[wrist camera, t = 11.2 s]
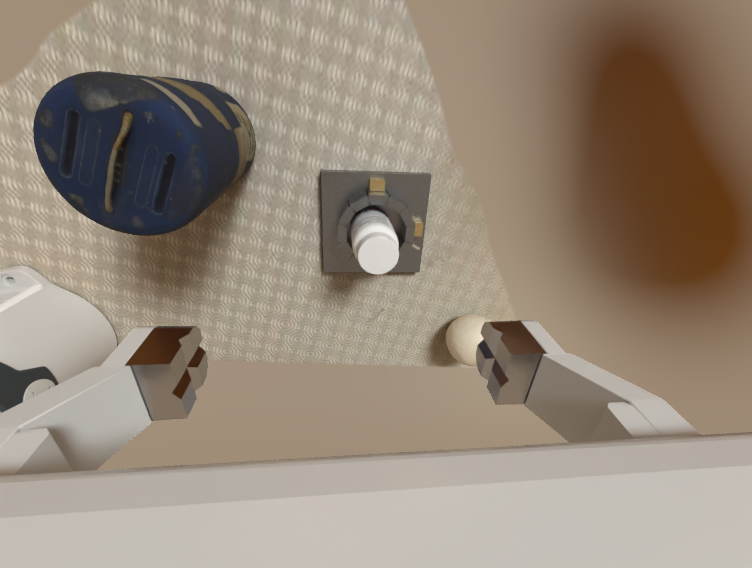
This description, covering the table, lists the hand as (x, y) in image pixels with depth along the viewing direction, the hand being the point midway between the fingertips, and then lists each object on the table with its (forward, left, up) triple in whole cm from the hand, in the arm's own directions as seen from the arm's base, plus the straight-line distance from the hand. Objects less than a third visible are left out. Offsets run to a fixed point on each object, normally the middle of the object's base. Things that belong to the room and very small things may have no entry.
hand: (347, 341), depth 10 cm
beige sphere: (+18, -22, -31) cm, 42 cm away
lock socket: (+4, -7, -31) cm, 32 cm away
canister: (-13, +2, -31) cm, 34 cm away
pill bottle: (+3, -7, -30) cm, 31 cm away
